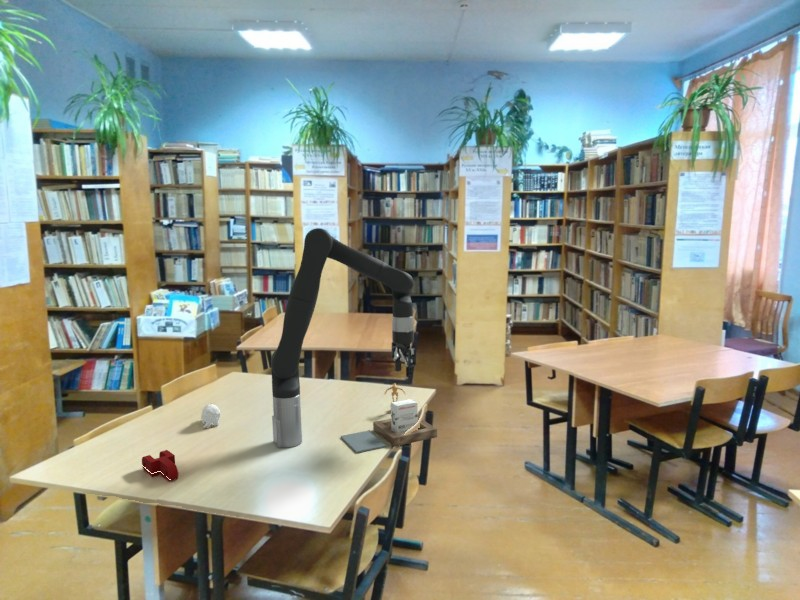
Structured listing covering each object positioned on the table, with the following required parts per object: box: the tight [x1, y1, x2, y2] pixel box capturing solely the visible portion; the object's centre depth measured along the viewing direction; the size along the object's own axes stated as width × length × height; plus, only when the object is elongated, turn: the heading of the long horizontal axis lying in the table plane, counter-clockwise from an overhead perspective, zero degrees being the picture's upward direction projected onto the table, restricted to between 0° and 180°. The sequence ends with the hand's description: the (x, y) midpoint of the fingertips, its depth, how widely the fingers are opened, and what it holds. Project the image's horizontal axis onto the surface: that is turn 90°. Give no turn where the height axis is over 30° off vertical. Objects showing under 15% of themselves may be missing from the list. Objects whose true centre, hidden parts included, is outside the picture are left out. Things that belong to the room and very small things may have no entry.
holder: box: [372, 416, 438, 447], centre depth 194 cm, size 17×17×3 cm
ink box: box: [390, 398, 419, 434], centre depth 193 cm, size 9×5×12 cm, turn 115°
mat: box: [340, 429, 388, 454], centre depth 187 cm, size 11×15×1 cm
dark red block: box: [141, 449, 179, 483], centre depth 165 cm, size 16×7×5 cm, turn 45°
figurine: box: [384, 382, 406, 408], centre depth 216 cm, size 8×6×12 cm
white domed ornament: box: [200, 403, 221, 429], centre depth 206 cm, size 6×8×12 cm
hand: (403, 373), depth 191 cm, fingers open, 8 cm apart
